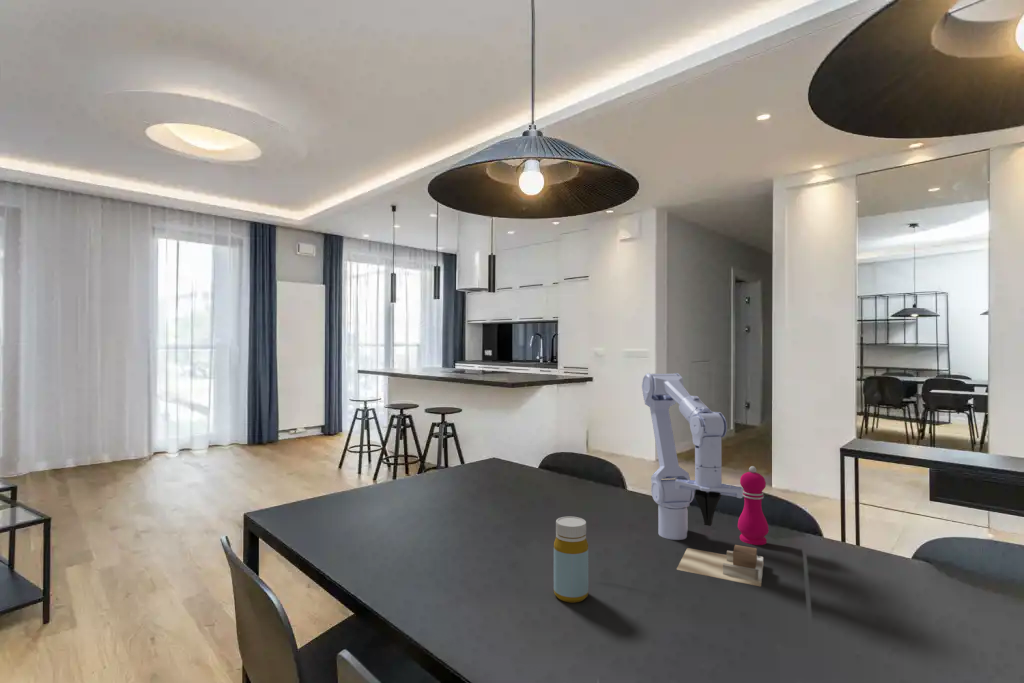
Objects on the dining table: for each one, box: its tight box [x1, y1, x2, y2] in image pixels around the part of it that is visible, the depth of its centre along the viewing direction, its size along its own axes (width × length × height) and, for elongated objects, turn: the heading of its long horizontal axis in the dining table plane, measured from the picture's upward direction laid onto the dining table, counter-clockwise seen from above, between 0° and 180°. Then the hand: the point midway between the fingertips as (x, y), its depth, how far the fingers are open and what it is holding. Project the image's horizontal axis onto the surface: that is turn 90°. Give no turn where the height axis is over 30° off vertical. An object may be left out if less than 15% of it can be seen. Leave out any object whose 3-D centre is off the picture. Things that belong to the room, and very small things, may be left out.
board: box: [676, 547, 765, 588], centre depth 116 cm, size 14×17×3 cm
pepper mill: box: [737, 465, 770, 546], centre depth 132 cm, size 7×7×20 cm
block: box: [732, 544, 758, 569], centre depth 114 cm, size 4×4×4 cm
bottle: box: [553, 516, 589, 603], centre depth 104 cm, size 7×7×15 cm
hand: (708, 524), depth 117 cm, fingers closed
